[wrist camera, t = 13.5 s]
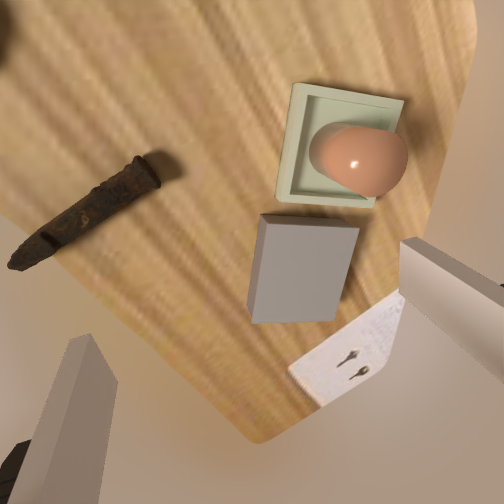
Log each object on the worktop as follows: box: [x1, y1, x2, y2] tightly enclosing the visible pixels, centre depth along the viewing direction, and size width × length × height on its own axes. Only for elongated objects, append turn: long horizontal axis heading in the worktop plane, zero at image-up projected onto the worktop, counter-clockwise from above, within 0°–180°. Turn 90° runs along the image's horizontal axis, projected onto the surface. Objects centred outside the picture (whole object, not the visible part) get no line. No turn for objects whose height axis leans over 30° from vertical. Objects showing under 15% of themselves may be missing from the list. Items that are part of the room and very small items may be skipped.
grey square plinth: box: [247, 214, 360, 324], centre depth 45 cm, size 14×12×4 cm
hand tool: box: [7, 156, 161, 271], centre depth 36 cm, size 19×4×5 cm, turn 118°
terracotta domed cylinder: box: [309, 122, 408, 197], centre depth 36 cm, size 6×6×10 cm
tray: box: [274, 83, 404, 208], centre depth 40 cm, size 13×13×2 cm
